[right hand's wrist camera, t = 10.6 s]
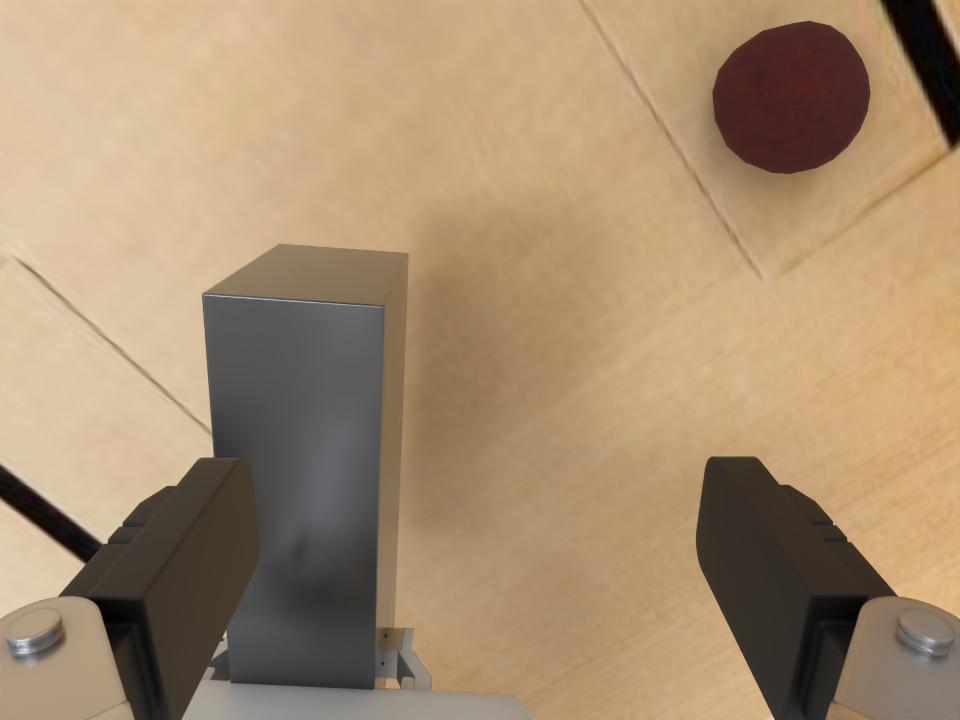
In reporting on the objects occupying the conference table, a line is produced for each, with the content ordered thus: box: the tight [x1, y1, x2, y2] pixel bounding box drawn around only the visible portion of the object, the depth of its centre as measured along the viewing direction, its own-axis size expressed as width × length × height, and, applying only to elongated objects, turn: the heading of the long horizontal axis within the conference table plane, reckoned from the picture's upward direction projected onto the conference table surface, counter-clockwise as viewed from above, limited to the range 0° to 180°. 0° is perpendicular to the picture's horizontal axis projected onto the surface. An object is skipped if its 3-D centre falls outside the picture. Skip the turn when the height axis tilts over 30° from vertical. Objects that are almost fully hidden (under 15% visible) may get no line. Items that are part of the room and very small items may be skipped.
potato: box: [713, 21, 870, 174], centre depth 34 cm, size 7×8×7 cm
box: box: [202, 244, 409, 690], centre depth 30 cm, size 22×6×9 cm, turn 175°
